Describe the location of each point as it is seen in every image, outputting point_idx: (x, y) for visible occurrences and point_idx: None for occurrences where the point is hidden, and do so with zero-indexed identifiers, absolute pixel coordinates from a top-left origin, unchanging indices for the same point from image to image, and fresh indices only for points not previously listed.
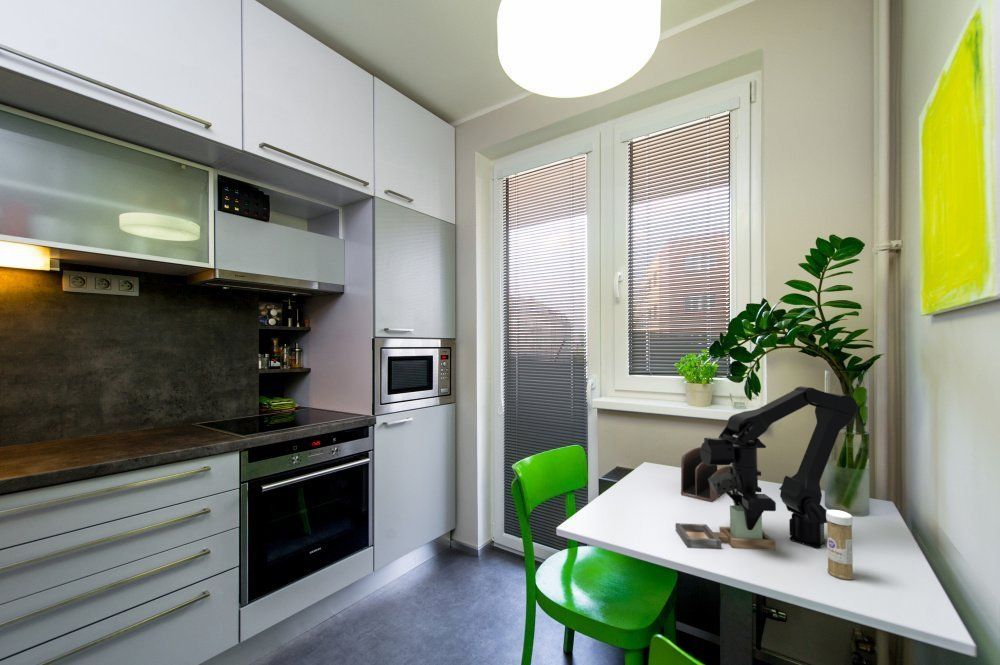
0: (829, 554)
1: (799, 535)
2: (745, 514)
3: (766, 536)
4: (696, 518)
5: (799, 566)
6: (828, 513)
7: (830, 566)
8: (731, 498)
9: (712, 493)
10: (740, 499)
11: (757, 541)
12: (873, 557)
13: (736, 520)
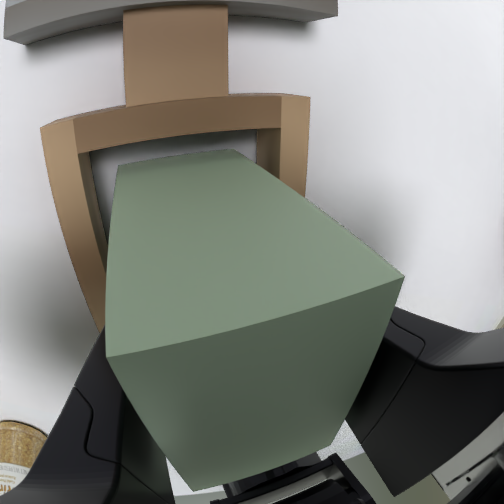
0: (4, 474)
1: None
2: (86, 415)
3: None
4: (448, 72)
5: (3, 375)
6: None
7: (2, 442)
8: (487, 336)
9: None
10: (418, 427)
11: (86, 299)
12: (176, 476)
13: (114, 246)
